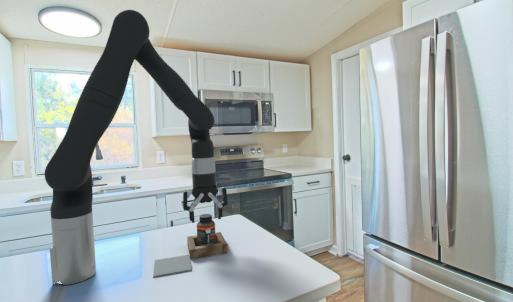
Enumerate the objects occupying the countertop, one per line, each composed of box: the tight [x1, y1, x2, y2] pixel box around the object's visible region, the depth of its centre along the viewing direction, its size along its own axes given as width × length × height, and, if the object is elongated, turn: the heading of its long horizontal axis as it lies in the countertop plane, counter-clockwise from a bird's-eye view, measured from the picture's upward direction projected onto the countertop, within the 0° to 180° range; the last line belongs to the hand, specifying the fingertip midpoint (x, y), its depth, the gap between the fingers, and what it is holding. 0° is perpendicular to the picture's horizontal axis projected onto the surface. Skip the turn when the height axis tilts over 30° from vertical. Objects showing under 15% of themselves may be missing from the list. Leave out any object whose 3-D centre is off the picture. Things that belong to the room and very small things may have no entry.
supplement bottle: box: [196, 213, 217, 247], centre depth 89 cm, size 6×6×11 cm
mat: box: [152, 254, 193, 279], centre depth 78 cm, size 10×10×1 cm
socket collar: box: [186, 231, 229, 261], centre depth 89 cm, size 12×12×3 cm
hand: (206, 220), depth 89 cm, fingers open, 8 cm apart
